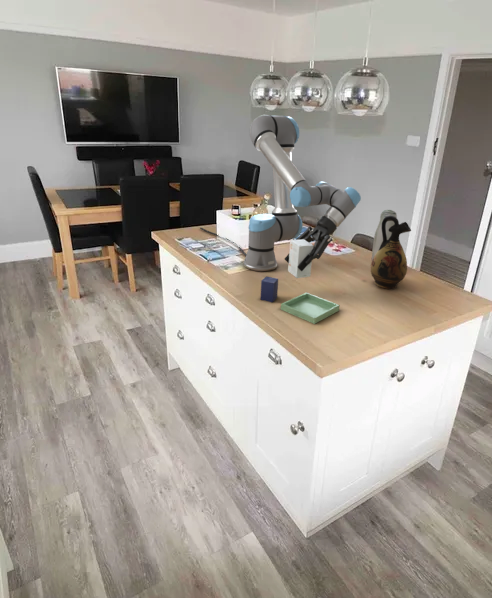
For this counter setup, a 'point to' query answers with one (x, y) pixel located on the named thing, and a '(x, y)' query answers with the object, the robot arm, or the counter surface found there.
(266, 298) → the navy block
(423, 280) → the counter surface
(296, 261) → the small box
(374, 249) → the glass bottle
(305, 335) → the counter surface
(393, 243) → the ceramic jug
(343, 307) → the counter surface
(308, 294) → the tray
